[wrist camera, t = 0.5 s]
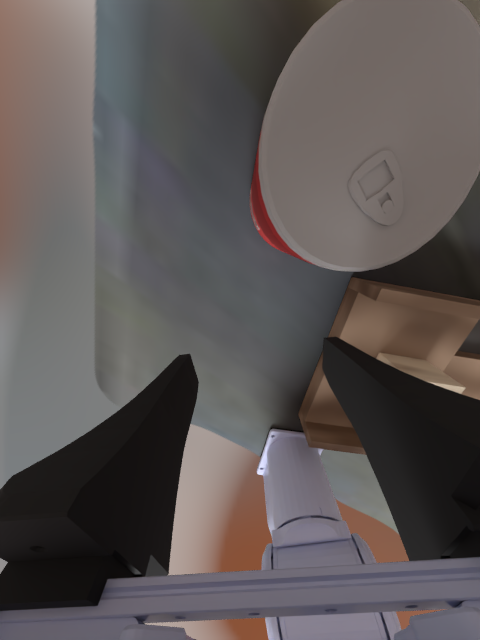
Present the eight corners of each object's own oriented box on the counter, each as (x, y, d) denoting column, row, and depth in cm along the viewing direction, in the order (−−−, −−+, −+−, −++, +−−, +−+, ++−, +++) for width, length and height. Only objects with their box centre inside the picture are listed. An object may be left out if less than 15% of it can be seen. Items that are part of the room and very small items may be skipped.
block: (401, 397, 22) (433, 429, 19) (359, 390, 22) (382, 422, 18) (425, 360, 20) (466, 387, 17) (379, 352, 20) (409, 379, 16)
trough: (500, 441, 28) (545, 478, 24) (298, 413, 26) (308, 447, 22) (616, 325, 21) (709, 348, 17) (351, 276, 19) (381, 288, 15)
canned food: (299, 269, 19) (365, 308, 9) (230, 214, 17) (213, 184, 7) (362, 192, 17) (552, 125, 6) (289, 119, 15) (390, -133, 5)
